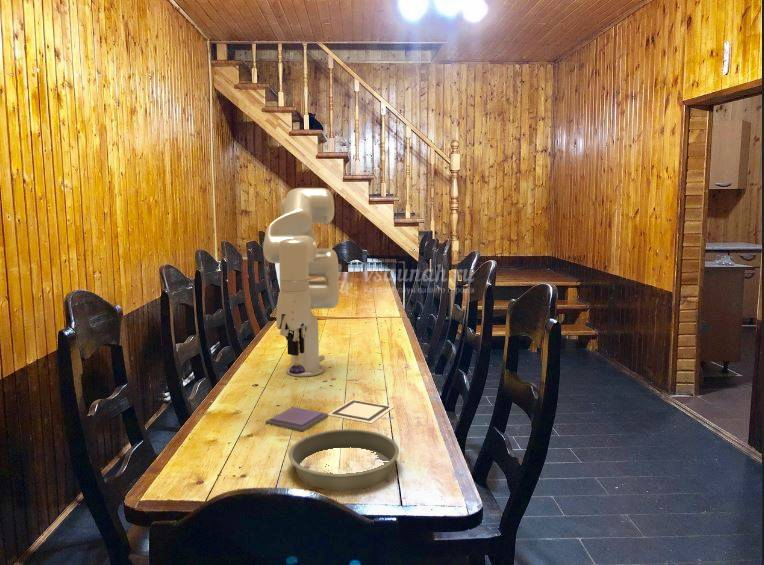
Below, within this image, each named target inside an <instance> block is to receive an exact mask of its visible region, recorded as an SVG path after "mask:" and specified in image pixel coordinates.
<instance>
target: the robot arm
mask: <svg viewBox="0 0 764 565" xmlns="http://www.w3.org/2000/svg"><path fill="white" fill-rule="evenodd" d="M279 209H280V216H279V217H277V218H276V219H275V220H273V221H272V222H270V224H269V225H268V226H267V228H266V231H265V235H264V240H263V246H262V247H263V248H262V249H263V256H264V258H265V260H266V261H267V262H268V263H271V264H279V266H278V267H279V292H278V296H277V303H276V304H277V305H276V328H277V329H278V330H280V331H279V335H280V336H282V337H285V340H286V341H287V343H286V344H287V354H288V355H290V366H288V367H287V368H286V374H288V375H290V376H293V377H312V376H313V377H314V376H318V375H320V374H322V373H323V372H324V366H323V365H321V362H323V361H324V360H325V359H326V357H325V355H322V354H321V355H319V354H320V350H319V349H320V348H319V343H320V342H319V341H320V340H319V320H318V318H317V316H316V315H315V314H314V313H313V312H312V310H314V309H318V310H320V309H323V310H324V309H333V308H336V307H337V306H338V305H339V300H340V285H339V282H340V280H339V279H340V278H339V259H338V254H337V253H336V251H335V250H334V249H332V248H318V246H317V242H316V233H315V231H314V229H313V228H312V225H313V224H329V223H331V222H332V221H333V219H334V217H335V201H334V197H333V194H332V192H331V191H330V190H329V189H328V188H324V187H298V188H297V187H296V188H292V189H291V190H289V191H288V192H287V194H286V196H285V198H284V199H282V200H280V203H279ZM310 277H311V278H314V277H315V278H316V277H317V278H319V277H321V278H324V279H325V280H309V279H310ZM302 323H304V326H302V327H300V326H301V324H302ZM297 329H299V331H298V332H299V342H298V341H297ZM299 345H300V347H299ZM299 350H300V353H299ZM294 355H295V356H297V355H300V365H302V366H303V367H304V369H305V372H304V373H302V374H291V373H289V370H290V368H291V366H293V365H294Z"/></svg>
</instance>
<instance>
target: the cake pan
mask: <svg viewBox="0 0 764 565" xmlns="http://www.w3.org/2000/svg"><path fill="white" fill-rule="evenodd" d="M350 447H351V448H361V449H366V450H370V451H373V452H371V453H374V452H376V454H375V455H378V456H377V457H379V458H377V459H380V460H382V461H389V462H383V463H384V465H381V466H379V467H377V468H374V469H371V470H367V471H363V472H356V473H346V474H333V473H331V472H330V473H328V472H321V471H317V470H313V469H310V468H306V467H304V466H303V465H301V464H302V463H303V462H304V461H303V460H304V459H305V458H306V457H308V456H310V455H312V454H314V453H316V452H319V451H323V450H328V449H333V448H350ZM399 455H400V449H399V445H398V444H397V442H395V440H393V439H392V438H390V437H388V436H386V435H384V434H382V433H379V432H375V431H370V430H365V429H352V428H349V429H348V428H345V429H344V428H342V429H331V430H326V431H321V432H317V433H313V434H310V435H308V436H305V437H303V438H301V439H299V440H297V441H296V442H295V443H294V444H293V445H292V446H291V447H290V448H289V451H288V459H289V461H290V462H291V465H293V466H294V468H295V470H296V473H297V475H298V476H297V477H298V478H300V479H301V481H302V482H304V483H306V484H307V485H310V486H313V487H315V488H318V487H319V489H323V490H328V491H329V490H330V491H331V490H332V491H351V490H352V491H353V490H361V489H366V488H368V487H372V486H375V485H377V484H380V483H382V482H383V481H384V480H386V479H387V478H388V477H389V476H390V475H391V473H392V471H393V466H394V462H395V461H396V460H397V458H398V456H399ZM302 461H303V462H302ZM300 463H301V464H300ZM326 465H327V464H326ZM328 466H329V465H328ZM325 467H326V466H325Z"/></svg>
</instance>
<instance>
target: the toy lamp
mask: <svg viewBox="0 0 764 565" xmlns="http://www.w3.org/2000/svg"><path fill="white" fill-rule="evenodd" d="M302 326H304V323H302V324H301V326H300V327H302ZM298 331H299V329H297V341H298V342H299V332H298ZM299 347H300V345H299ZM299 353H300V350H299ZM290 366H291V365H290ZM304 372H305V369H304V367H303V366H302V365H300V355H297V356H295V355H294V365H293V366H291V368H290V370H289V373H291V374H302V373H304Z"/></svg>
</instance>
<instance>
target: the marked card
mask: <svg viewBox="0 0 764 565" xmlns="http://www.w3.org/2000/svg"><path fill="white" fill-rule="evenodd" d="M392 408H393V409H395V406H392V405H386V404H380V403H374V402H370V401H363V400H357V399H350V400H349V401H347V402H345V403H344V404H342V405H340V406H339V407H337V408H335V409H334V410H331V412H329V413H327V414H328V417H329V416H330V417H335V418H339V417H340V419H345V418H346V420H350V419H351V421H355V420H356V422H360V421H361V422H360V423H365V422H366V423H367V424H371V423H372V424H373V423H375V422H376V421H378V420H379V419H380V418H381V416H382V417H383V416H384V415H386V414H387V413H388V411H389V410H390V411H392V410H393V409H392ZM390 411H389V412H390ZM385 413H386V414H385ZM378 418H379V419H378Z"/></svg>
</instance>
